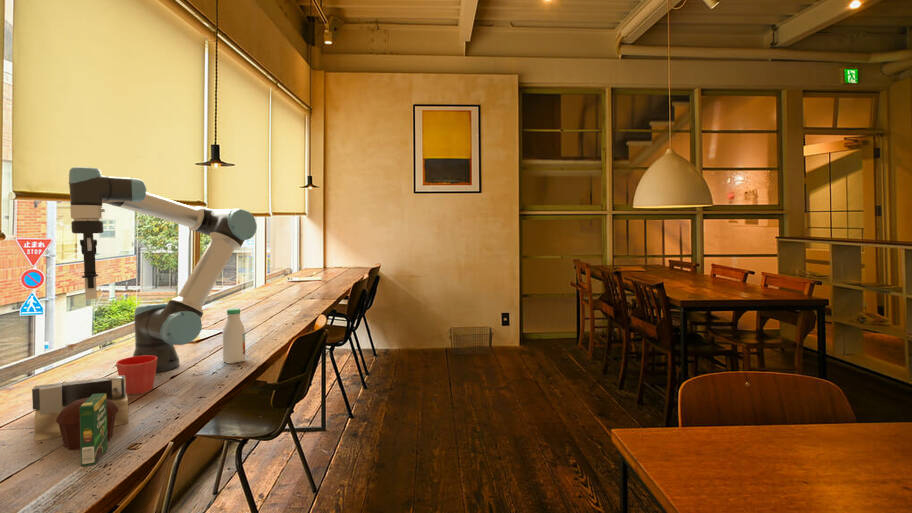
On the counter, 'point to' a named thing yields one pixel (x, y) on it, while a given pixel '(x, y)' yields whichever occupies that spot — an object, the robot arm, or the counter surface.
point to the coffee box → (93, 429)
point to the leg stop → (50, 399)
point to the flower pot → (138, 373)
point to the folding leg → (85, 389)
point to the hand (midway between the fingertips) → (91, 298)
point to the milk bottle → (233, 337)
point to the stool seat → (50, 428)
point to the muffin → (71, 422)
